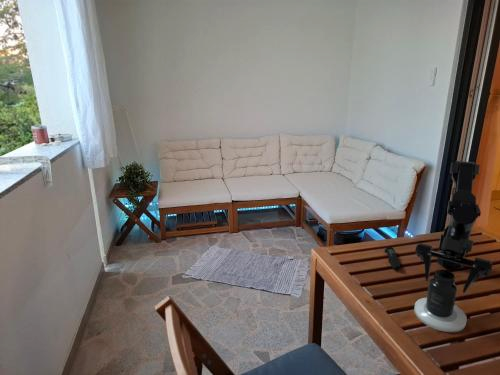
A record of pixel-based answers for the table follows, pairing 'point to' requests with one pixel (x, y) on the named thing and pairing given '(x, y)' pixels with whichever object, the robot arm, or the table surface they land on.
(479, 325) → the table surface
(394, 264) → the electric trimmer
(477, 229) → the table surface
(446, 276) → the supplement bottle
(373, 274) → the table surface
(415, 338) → the table surface
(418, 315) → the saucer
